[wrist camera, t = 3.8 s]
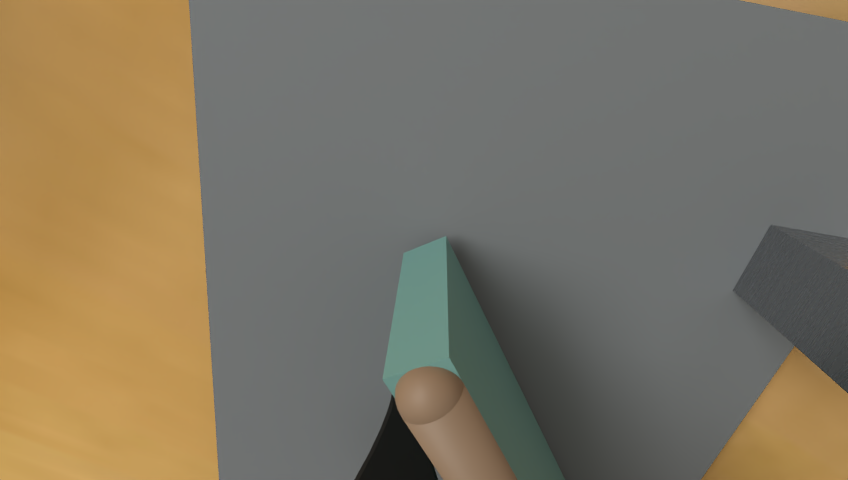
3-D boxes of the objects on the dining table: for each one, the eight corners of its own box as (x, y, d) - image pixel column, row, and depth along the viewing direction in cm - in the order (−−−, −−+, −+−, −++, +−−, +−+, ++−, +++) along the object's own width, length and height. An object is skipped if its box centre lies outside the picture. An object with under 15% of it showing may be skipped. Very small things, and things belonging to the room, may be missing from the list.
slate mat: (621, 569, 19) (626, 585, 18) (228, 515, 18) (222, 530, 17) (968, 50, 10) (1000, 52, 9) (197, -102, 9) (182, -111, 8)
